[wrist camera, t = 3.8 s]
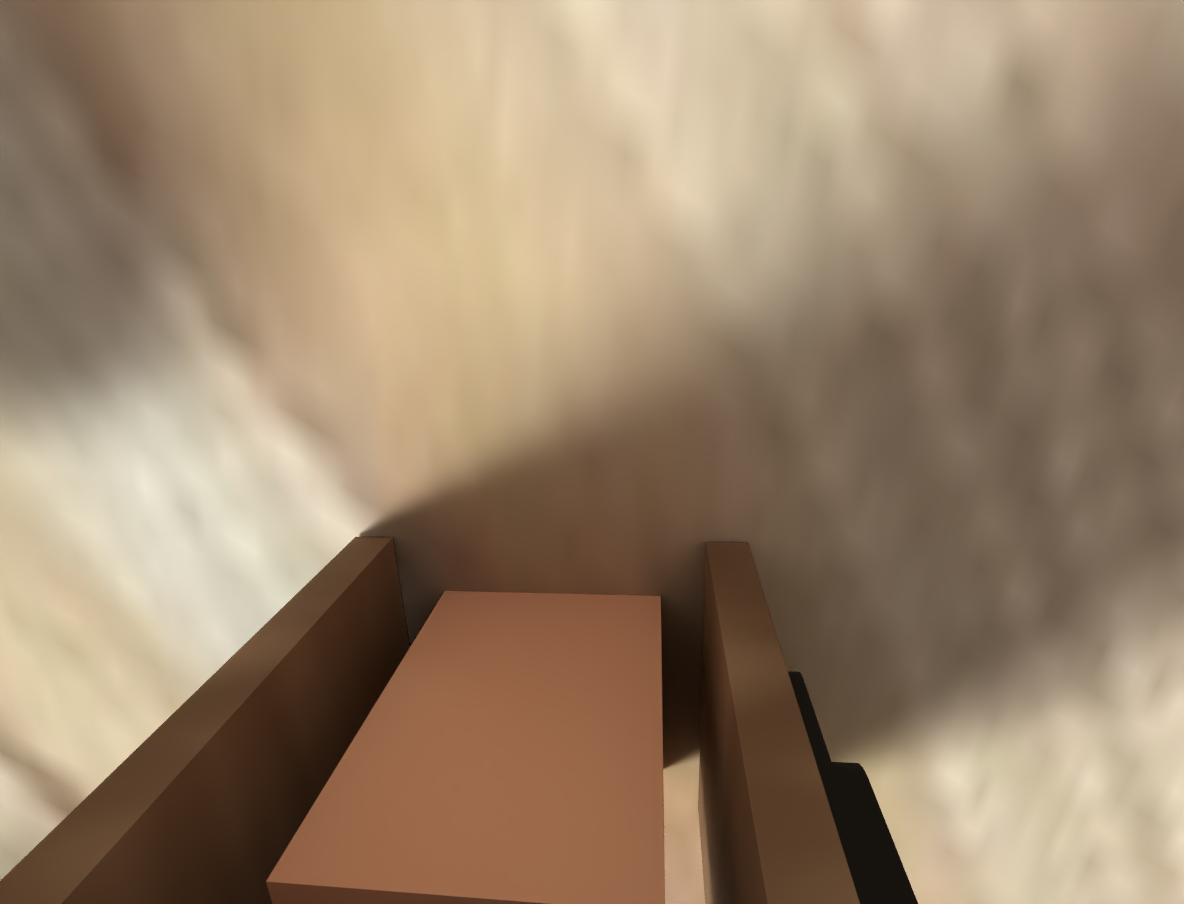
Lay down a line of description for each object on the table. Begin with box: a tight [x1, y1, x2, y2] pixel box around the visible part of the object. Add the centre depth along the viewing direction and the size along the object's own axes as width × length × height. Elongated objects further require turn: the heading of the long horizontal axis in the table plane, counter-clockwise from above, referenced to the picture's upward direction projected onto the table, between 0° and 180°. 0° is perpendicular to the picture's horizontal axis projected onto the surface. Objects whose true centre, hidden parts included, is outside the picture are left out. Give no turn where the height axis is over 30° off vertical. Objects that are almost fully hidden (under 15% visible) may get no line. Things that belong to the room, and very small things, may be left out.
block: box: [266, 591, 665, 904], centre depth 9 cm, size 4×4×6 cm
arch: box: [0, 537, 860, 904], centre depth 8 cm, size 7×6×8 cm
